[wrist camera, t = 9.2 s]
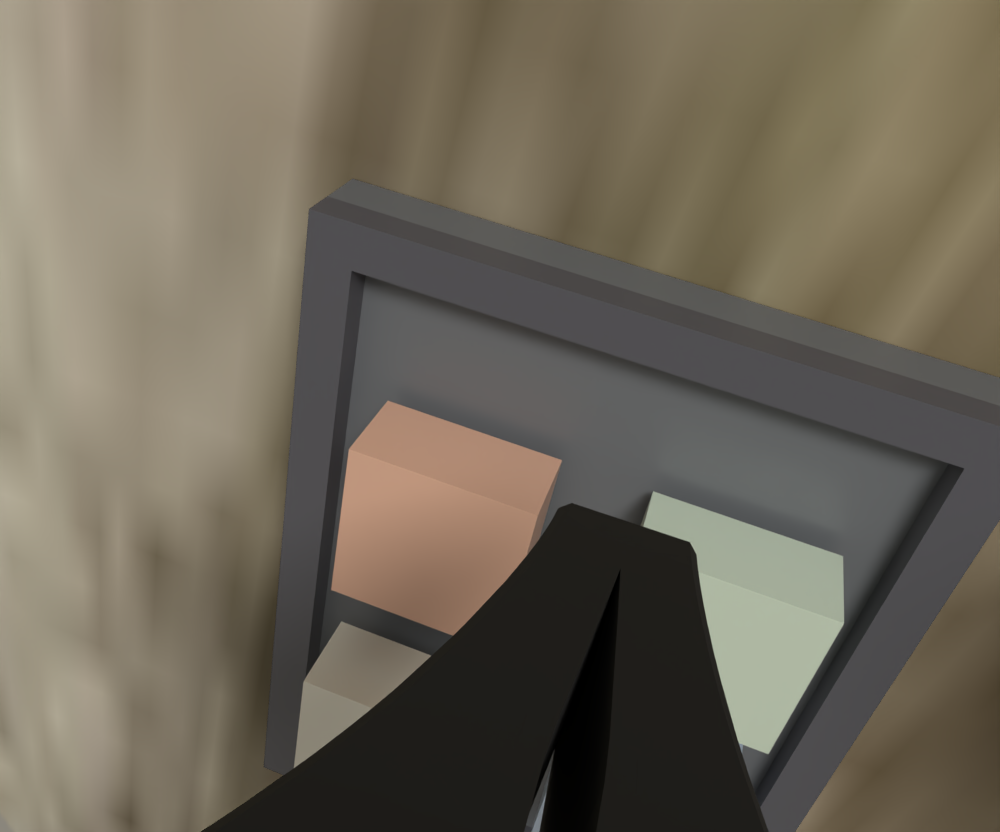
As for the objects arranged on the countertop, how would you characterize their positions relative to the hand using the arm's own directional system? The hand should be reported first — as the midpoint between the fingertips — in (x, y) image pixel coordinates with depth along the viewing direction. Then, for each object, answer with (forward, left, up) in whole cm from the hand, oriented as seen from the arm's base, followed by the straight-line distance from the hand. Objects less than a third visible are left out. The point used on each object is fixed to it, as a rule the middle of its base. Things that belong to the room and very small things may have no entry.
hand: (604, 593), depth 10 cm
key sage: (-3, +7, -9) cm, 12 cm away
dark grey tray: (0, +10, -10) cm, 14 cm away
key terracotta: (+3, +7, -9) cm, 12 cm away
